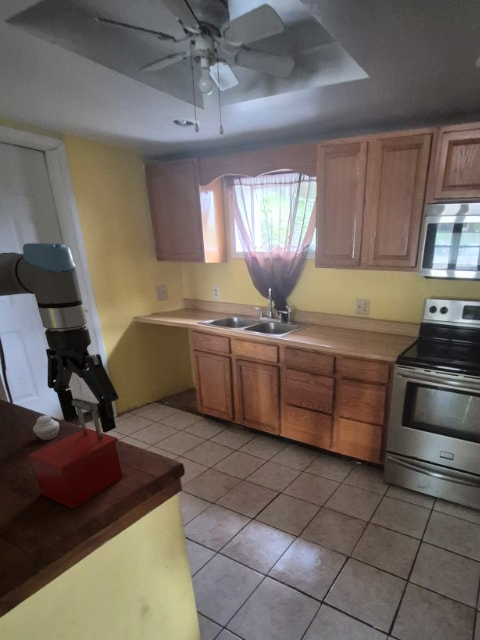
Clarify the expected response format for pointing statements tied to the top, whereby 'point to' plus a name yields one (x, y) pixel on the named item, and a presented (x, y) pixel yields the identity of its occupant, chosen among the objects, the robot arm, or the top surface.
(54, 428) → the muffin
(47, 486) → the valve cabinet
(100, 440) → the hatch
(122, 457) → the top surface
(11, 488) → the top surface
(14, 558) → the top surface
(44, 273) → the robot arm
